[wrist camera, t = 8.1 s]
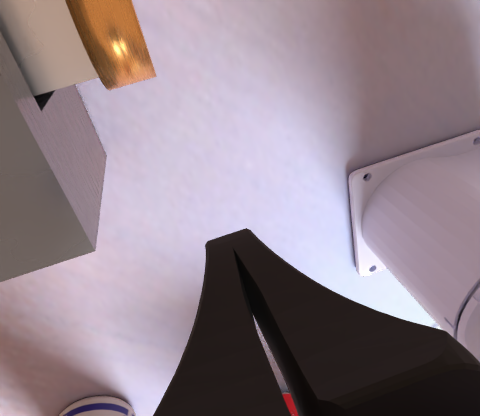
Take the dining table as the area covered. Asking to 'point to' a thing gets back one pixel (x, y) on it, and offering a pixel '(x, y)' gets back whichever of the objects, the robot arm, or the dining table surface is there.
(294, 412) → the soda can
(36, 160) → the housing
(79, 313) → the dining table surface
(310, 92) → the dining table surface
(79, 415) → the energy drink
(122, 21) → the shaft
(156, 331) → the dining table surface
